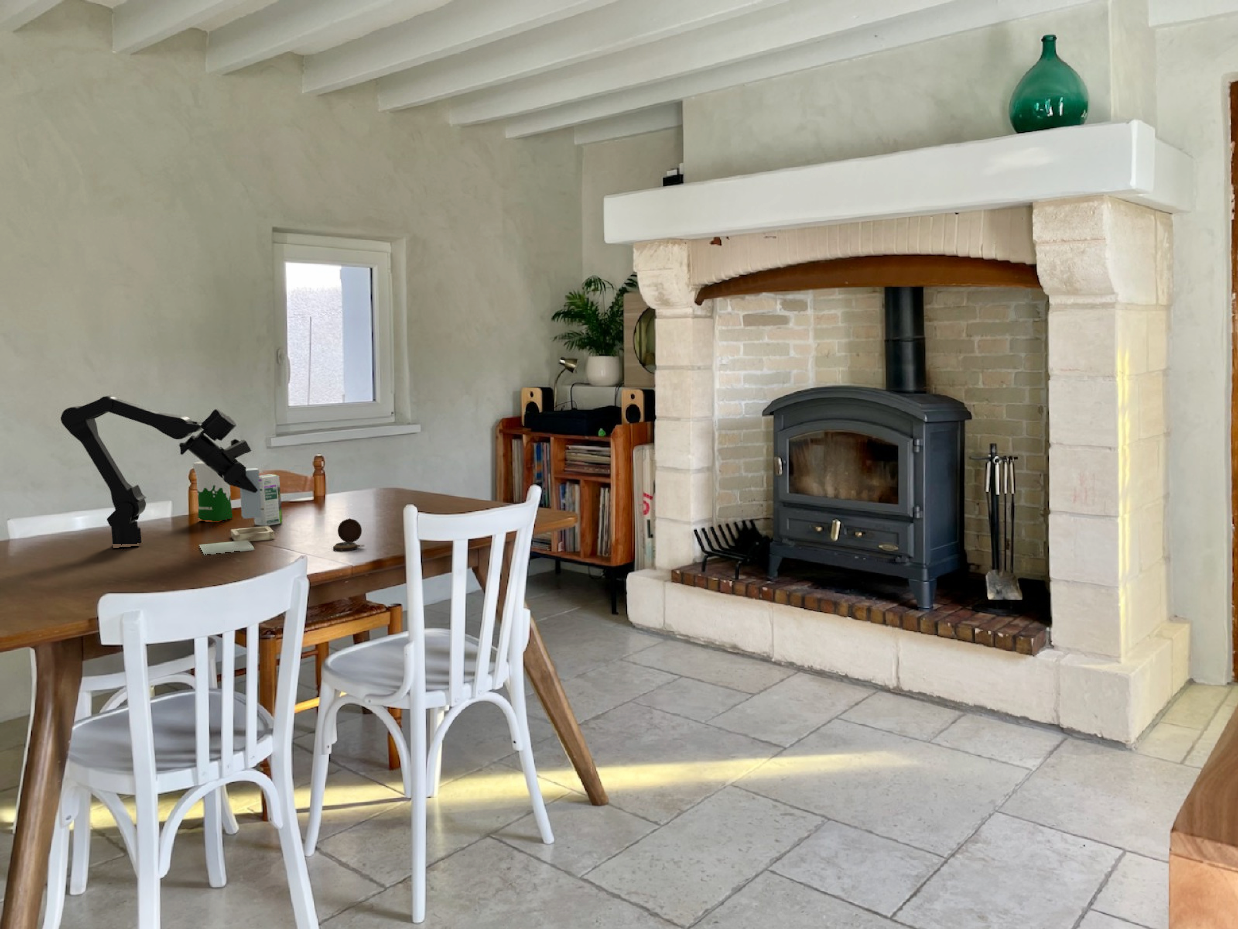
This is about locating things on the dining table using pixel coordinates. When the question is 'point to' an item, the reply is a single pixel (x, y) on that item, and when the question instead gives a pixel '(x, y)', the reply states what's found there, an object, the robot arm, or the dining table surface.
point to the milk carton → (212, 494)
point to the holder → (252, 534)
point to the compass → (348, 535)
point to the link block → (251, 496)
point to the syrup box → (269, 501)
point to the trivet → (226, 547)
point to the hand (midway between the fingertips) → (255, 490)
